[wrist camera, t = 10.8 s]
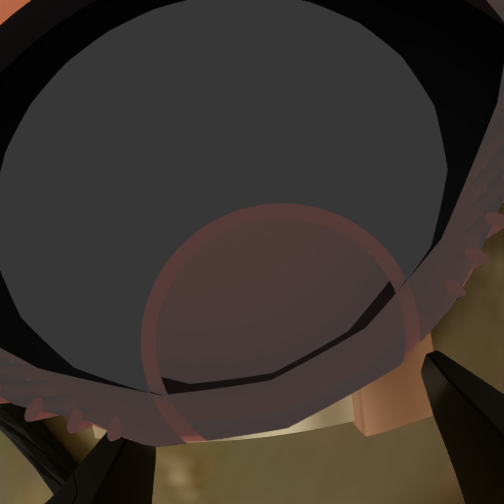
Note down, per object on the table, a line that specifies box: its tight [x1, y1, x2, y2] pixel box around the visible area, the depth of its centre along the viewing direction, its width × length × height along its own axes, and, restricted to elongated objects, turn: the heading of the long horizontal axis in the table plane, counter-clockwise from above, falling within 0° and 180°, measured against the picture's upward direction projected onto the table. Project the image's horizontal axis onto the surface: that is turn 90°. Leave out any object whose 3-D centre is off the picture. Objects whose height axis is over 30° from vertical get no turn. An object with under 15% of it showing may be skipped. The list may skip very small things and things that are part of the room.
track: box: [93, 332, 433, 442], centre depth 17 cm, size 20×15×6 cm
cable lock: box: [0, 403, 78, 494], centre depth 15 cm, size 28×4×30 cm
